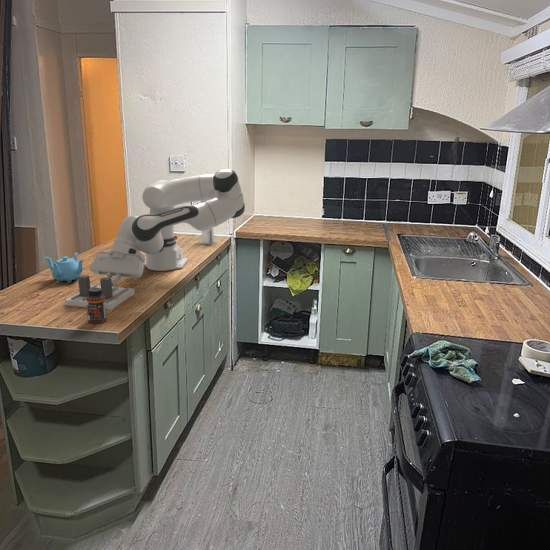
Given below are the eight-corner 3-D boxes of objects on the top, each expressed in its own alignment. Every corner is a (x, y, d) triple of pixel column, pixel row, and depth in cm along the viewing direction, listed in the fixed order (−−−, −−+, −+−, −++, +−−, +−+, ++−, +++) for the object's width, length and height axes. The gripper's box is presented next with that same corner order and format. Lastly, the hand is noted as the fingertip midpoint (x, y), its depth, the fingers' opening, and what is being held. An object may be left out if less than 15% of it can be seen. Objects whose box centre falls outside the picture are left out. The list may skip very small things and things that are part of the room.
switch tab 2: (105, 296, 186) (103, 277, 184) (112, 297, 186) (111, 277, 184) (101, 298, 184) (100, 279, 182) (109, 299, 183) (107, 279, 181)
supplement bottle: (87, 324, 166) (84, 292, 163) (88, 318, 172) (85, 286, 168) (106, 323, 168) (103, 291, 164) (107, 316, 173) (104, 285, 170)
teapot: (86, 282, 208) (84, 258, 205) (52, 287, 202) (50, 262, 199) (79, 274, 219) (77, 251, 216) (47, 278, 212) (44, 255, 209)
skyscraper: (197, 244, 274) (196, 193, 266) (203, 241, 282) (202, 191, 273) (211, 245, 272) (210, 194, 264) (217, 242, 279) (217, 192, 271)
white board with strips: (93, 289, 200) (92, 283, 199) (134, 293, 196) (134, 287, 195) (65, 305, 183) (64, 298, 182) (110, 309, 179) (109, 303, 178)
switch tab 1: (83, 294, 188) (81, 275, 186) (91, 294, 188) (89, 275, 185) (79, 296, 186) (77, 276, 184) (87, 296, 185) (85, 277, 183)
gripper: (94, 247, 193) (81, 278, 187) (143, 251, 189) (131, 283, 183) (101, 255, 199) (89, 286, 193) (149, 259, 194) (138, 291, 188)
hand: (110, 285), depth 188 cm, fingers closed
